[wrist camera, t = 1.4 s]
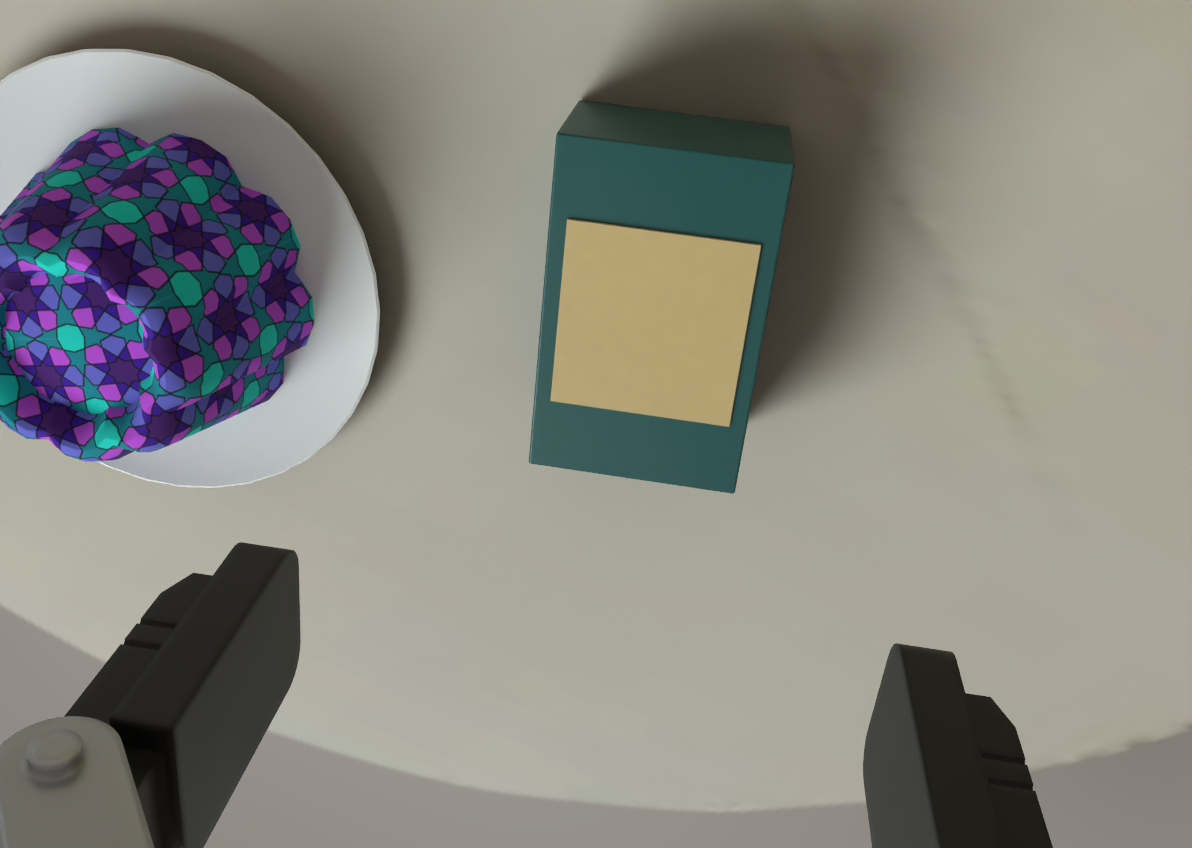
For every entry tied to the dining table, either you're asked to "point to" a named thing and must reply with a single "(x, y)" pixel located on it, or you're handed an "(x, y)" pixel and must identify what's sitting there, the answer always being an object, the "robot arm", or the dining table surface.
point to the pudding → (173, 273)
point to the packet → (656, 292)
